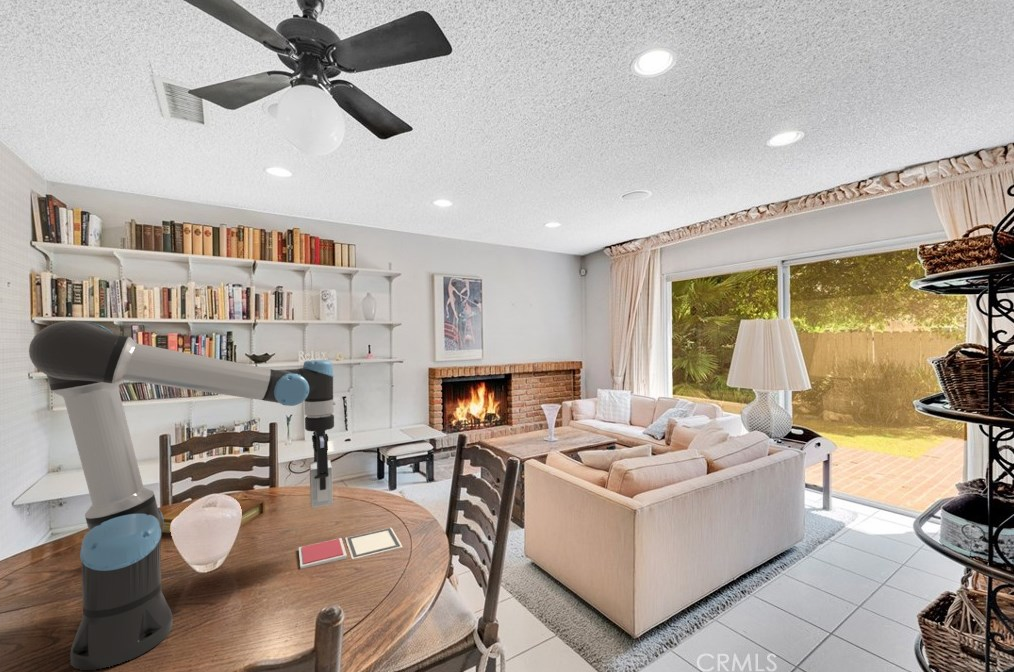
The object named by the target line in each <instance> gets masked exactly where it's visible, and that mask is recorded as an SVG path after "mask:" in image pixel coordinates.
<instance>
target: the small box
mask: <svg viewBox="0 0 1014 672" xmlns="http://www.w3.org/2000/svg"><path fill="white" fill-rule="evenodd" d="M322 473H324V472H322ZM328 473H329V475H328V500H326V501H321V502H317V479H315V476H317V462H314V461H311V462H309V491H310V492H309V493H310V508H311V509H313V508H319V507H326V506H332V505H333V504H334V503H333V467H332V463H331V459H328Z"/></svg>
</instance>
